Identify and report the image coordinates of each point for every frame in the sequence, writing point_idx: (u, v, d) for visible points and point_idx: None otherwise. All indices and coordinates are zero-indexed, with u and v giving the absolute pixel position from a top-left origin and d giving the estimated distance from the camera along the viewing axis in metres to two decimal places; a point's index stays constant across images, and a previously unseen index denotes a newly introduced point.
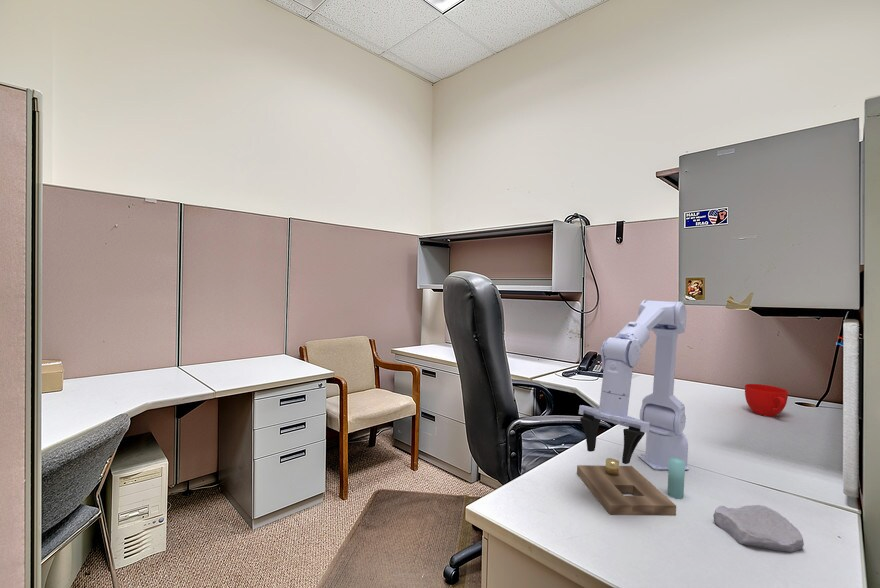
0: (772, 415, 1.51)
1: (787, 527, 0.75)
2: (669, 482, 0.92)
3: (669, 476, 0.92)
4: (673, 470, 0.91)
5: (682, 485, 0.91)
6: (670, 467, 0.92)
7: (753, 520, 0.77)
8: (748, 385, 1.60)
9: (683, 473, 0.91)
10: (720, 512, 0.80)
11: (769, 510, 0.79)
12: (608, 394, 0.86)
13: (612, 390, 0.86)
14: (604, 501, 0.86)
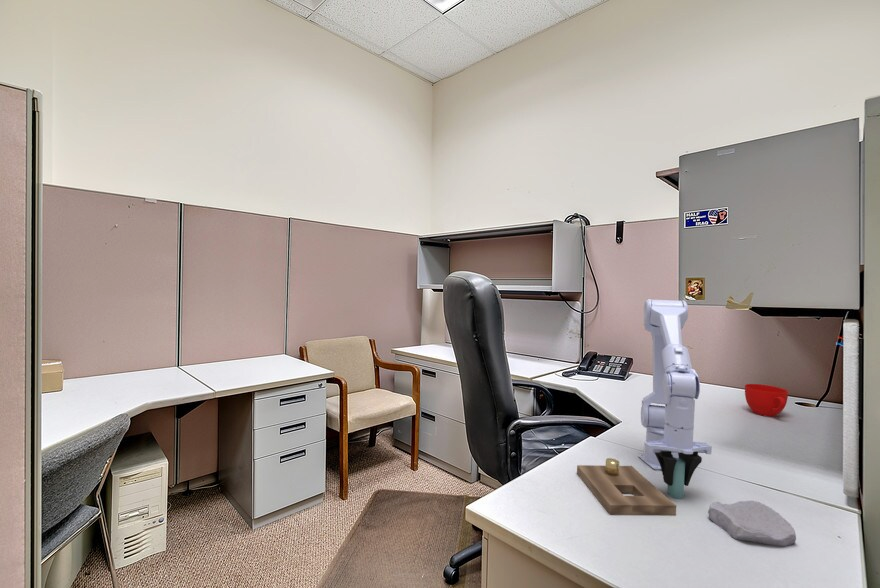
0: (772, 415, 1.51)
1: (780, 522, 0.77)
2: None
3: None
4: None
5: (682, 485, 0.91)
6: None
7: (747, 515, 0.79)
8: (748, 385, 1.60)
9: (683, 473, 0.91)
10: (715, 508, 0.82)
11: (762, 505, 0.81)
12: (686, 430, 0.89)
13: (684, 426, 0.89)
14: (604, 501, 0.86)
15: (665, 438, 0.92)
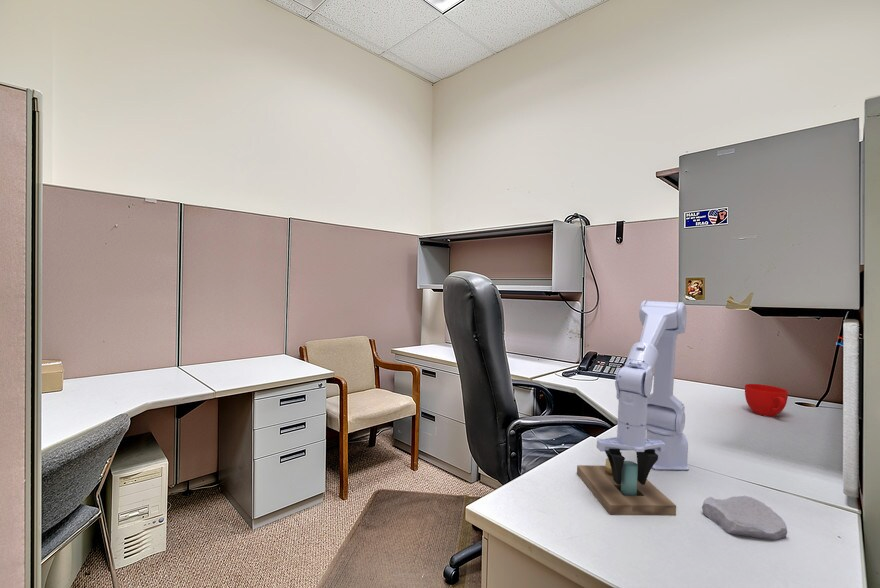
0: (772, 415, 1.51)
1: (771, 516, 0.79)
2: (622, 486, 0.89)
3: (622, 480, 0.89)
4: (625, 473, 0.88)
5: (635, 489, 0.88)
6: (623, 471, 0.89)
7: (740, 510, 0.81)
8: (748, 385, 1.60)
9: (635, 477, 0.88)
10: (708, 503, 0.84)
11: (754, 500, 0.83)
12: (637, 427, 0.86)
13: (630, 422, 0.87)
14: (604, 501, 0.86)
15: (618, 435, 0.89)
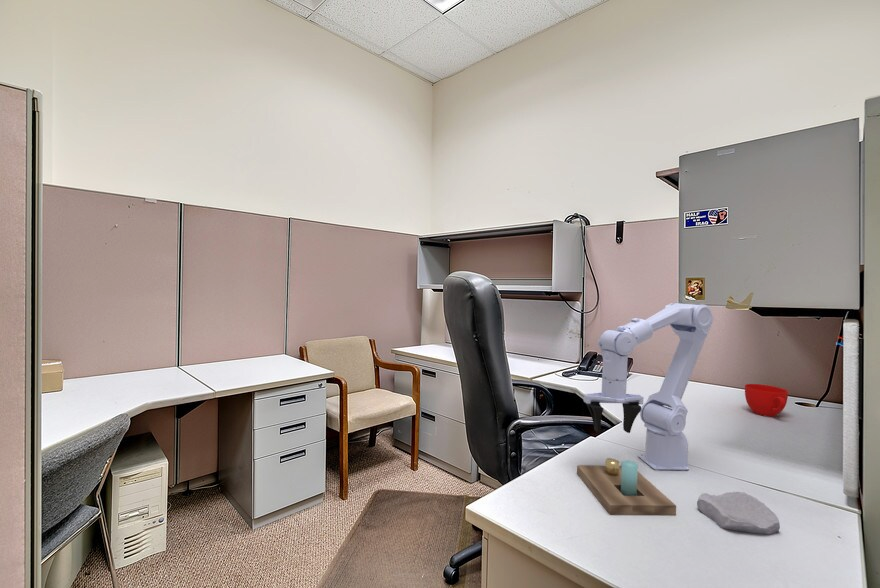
0: (772, 415, 1.51)
1: (765, 511, 0.81)
2: (622, 486, 0.89)
3: (622, 480, 0.89)
4: (625, 473, 0.88)
5: (635, 489, 0.88)
6: (622, 471, 0.89)
7: (734, 506, 0.82)
8: (748, 385, 1.60)
9: (635, 477, 0.88)
10: (703, 499, 0.85)
11: (748, 496, 0.85)
12: (618, 382, 0.99)
13: (607, 376, 1.00)
14: (604, 501, 0.86)
15: (602, 390, 1.02)
